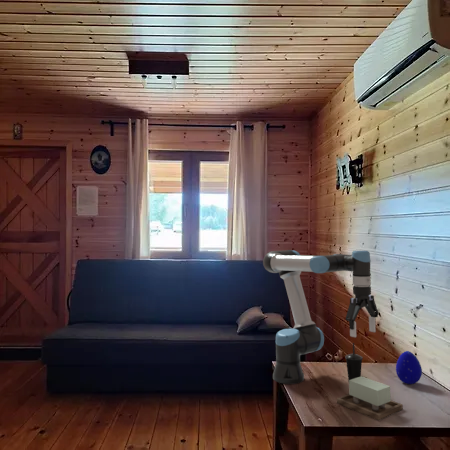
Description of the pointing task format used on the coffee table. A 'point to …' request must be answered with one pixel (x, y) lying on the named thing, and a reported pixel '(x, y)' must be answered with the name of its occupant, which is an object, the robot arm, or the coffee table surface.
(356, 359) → the drinking cup
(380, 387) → the grey boxy block
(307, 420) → the coffee table surface
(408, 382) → the ornament
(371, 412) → the peg frame
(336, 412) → the coffee table surface
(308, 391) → the coffee table surface
